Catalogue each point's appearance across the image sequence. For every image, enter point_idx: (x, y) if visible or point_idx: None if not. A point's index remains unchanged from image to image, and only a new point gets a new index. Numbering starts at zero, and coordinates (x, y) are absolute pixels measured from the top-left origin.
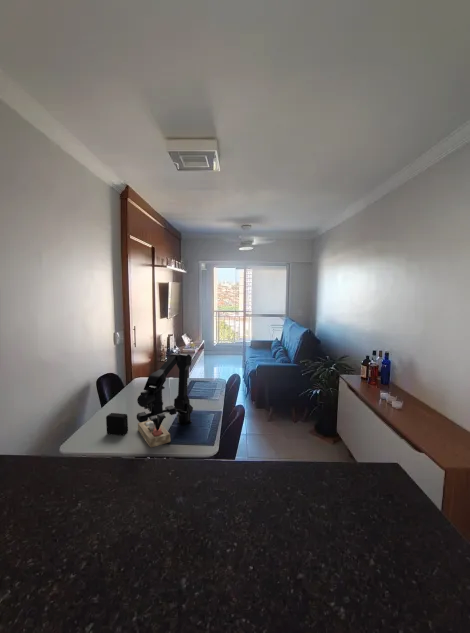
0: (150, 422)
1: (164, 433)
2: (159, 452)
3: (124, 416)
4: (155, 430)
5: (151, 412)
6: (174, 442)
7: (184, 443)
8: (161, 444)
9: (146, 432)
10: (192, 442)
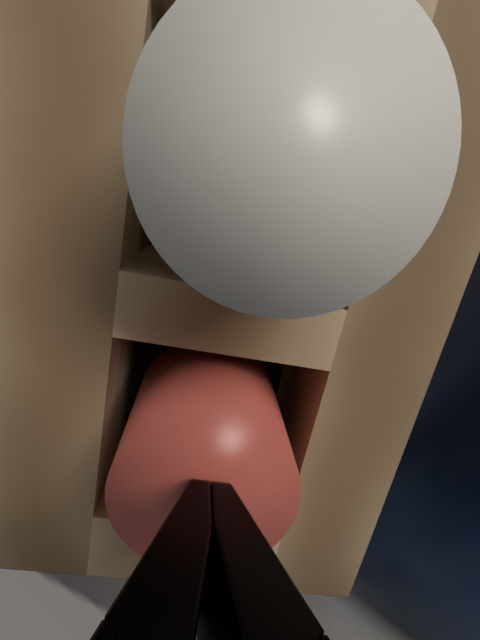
0: (202, 74)
1: (297, 526)
2: (94, 599)
3: None
4: (158, 491)
5: None
6: None
7: (396, 604)
8: None
9: (26, 252)
10: (460, 631)
